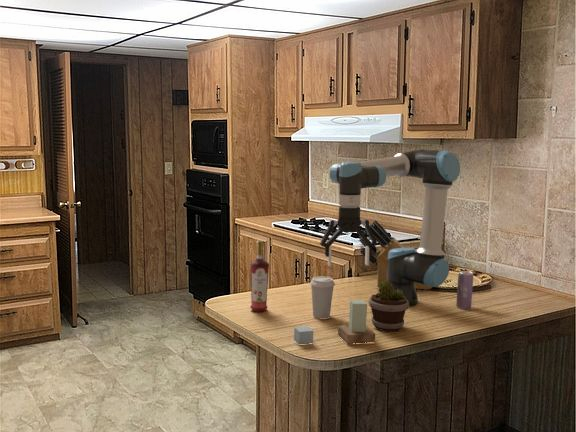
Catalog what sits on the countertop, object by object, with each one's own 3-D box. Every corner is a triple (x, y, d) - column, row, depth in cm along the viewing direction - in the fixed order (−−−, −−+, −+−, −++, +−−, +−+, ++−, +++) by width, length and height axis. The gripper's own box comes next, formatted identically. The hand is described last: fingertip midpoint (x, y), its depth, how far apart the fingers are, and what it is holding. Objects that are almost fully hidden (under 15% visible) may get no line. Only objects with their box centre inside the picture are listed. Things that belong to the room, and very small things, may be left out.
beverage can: (472, 306, 263) (474, 271, 261) (469, 310, 258) (472, 274, 256) (457, 304, 266) (459, 270, 264) (454, 308, 260) (457, 273, 258)
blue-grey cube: (307, 339, 219) (307, 326, 218) (312, 344, 214) (313, 330, 214) (293, 341, 217) (294, 327, 217) (299, 346, 213) (299, 331, 212)
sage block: (362, 327, 223) (364, 299, 221) (365, 331, 218) (367, 303, 216) (348, 327, 222) (350, 299, 221) (351, 331, 217) (352, 303, 216)
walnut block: (364, 335, 227) (364, 324, 226) (374, 344, 217) (375, 333, 216) (337, 336, 224) (338, 325, 224) (347, 346, 215) (347, 335, 214)
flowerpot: (380, 318, 245) (382, 268, 242) (415, 327, 235) (418, 275, 232) (359, 327, 233) (361, 274, 230) (395, 337, 224) (398, 282, 221)
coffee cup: (316, 321, 239) (318, 283, 237) (304, 314, 247) (305, 277, 245) (338, 318, 243) (339, 280, 241) (325, 311, 252) (326, 274, 249)
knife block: (357, 280, 302) (360, 216, 298) (432, 284, 298) (436, 220, 293) (356, 286, 291) (359, 220, 287) (434, 291, 287) (438, 223, 282)
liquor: (250, 313, 247) (251, 242, 243) (248, 307, 254) (249, 239, 250) (269, 312, 248) (270, 242, 244) (266, 307, 255) (268, 239, 251)
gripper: (316, 208, 217) (315, 268, 220) (387, 207, 220) (385, 266, 223) (312, 204, 224) (312, 263, 228) (381, 204, 227) (379, 261, 230)
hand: (348, 265), depth 225 cm, fingers open, 13 cm apart
